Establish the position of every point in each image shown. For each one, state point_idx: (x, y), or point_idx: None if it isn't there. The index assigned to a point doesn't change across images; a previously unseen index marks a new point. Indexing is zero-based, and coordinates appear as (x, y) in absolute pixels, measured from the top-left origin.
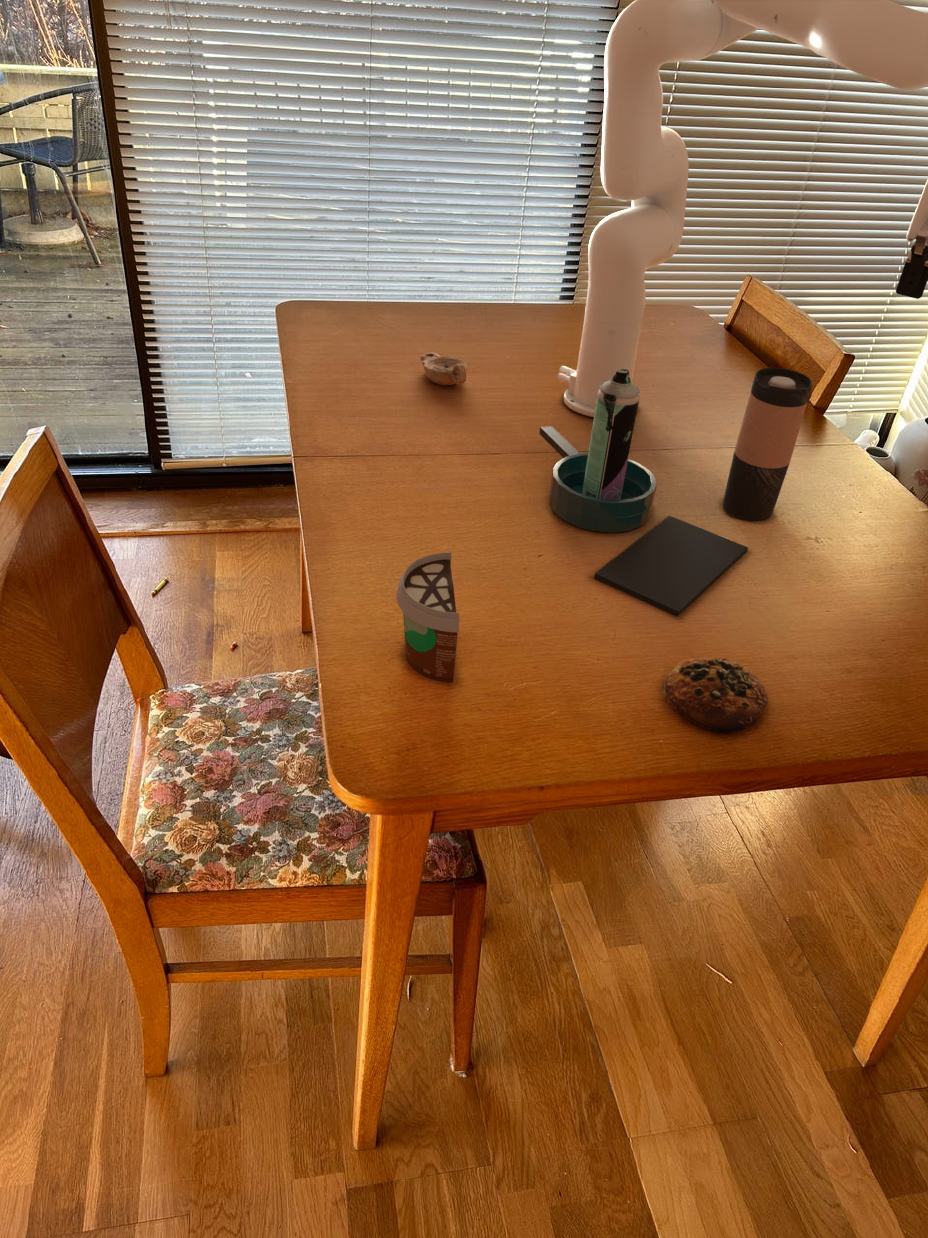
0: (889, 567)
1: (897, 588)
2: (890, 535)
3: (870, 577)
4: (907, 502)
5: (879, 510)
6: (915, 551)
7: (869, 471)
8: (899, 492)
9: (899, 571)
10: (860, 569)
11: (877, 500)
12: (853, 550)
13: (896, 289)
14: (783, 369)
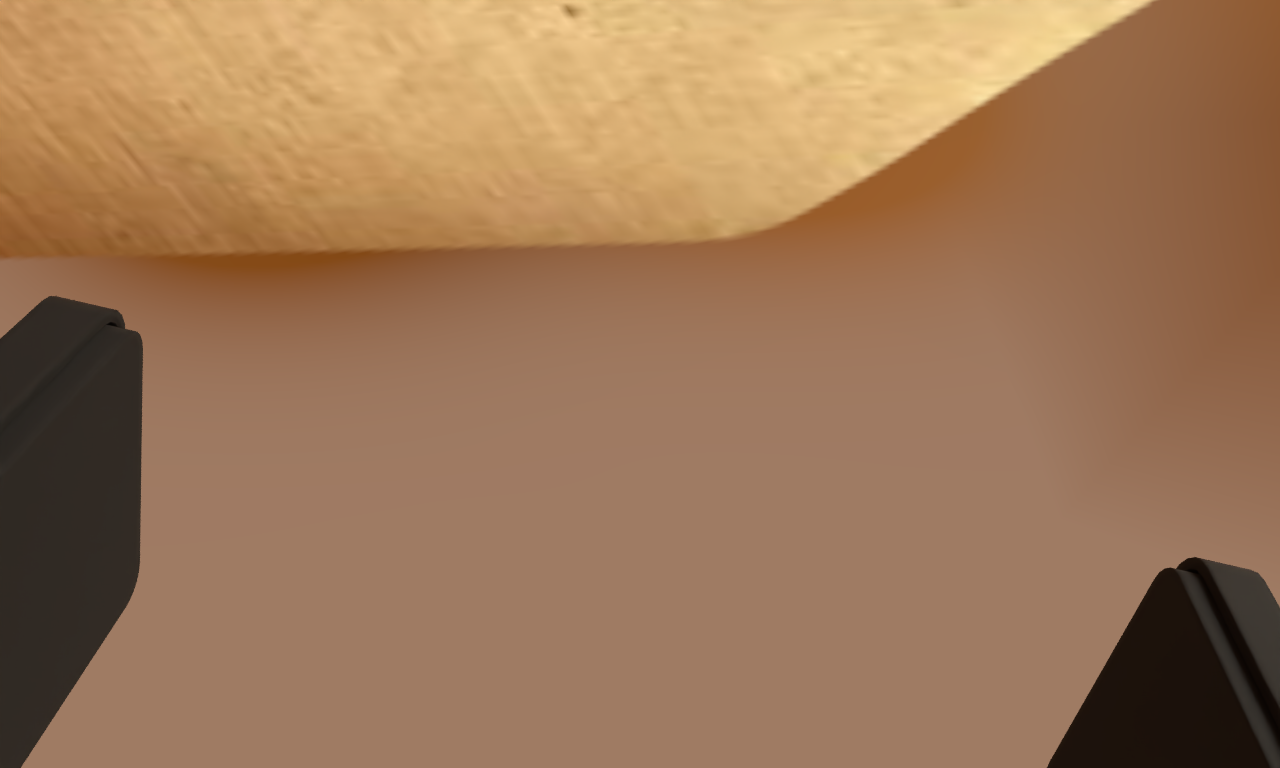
0: (185, 156)
1: (61, 190)
2: (440, 146)
3: (61, 95)
4: (783, 197)
5: (639, 90)
6: (373, 239)
7: (1040, 15)
8: (868, 161)
9: (183, 191)
10: (90, 55)
11: (734, 75)
12: (216, 15)
13: (34, 311)
14: None
